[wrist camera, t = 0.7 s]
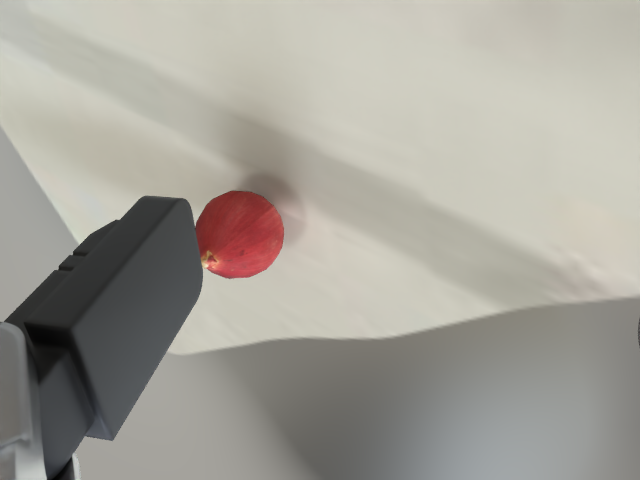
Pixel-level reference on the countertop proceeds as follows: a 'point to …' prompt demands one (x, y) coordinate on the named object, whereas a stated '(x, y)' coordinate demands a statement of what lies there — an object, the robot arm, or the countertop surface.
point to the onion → (239, 234)
